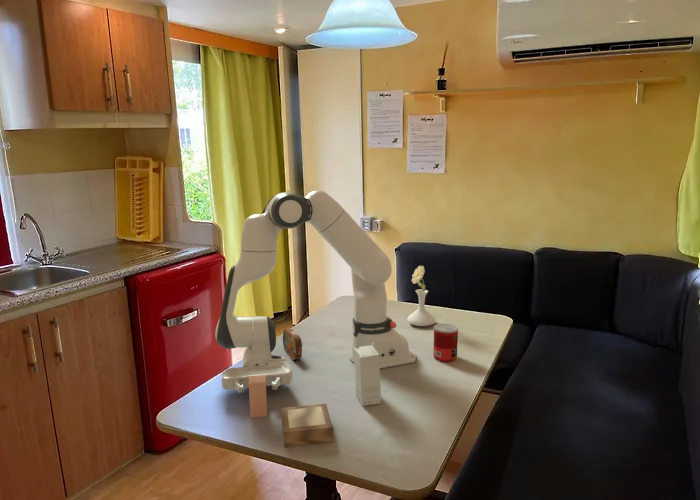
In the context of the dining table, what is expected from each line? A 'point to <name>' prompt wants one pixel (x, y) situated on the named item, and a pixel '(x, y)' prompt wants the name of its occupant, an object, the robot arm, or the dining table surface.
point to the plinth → (306, 425)
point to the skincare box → (367, 375)
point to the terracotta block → (257, 396)
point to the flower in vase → (420, 302)
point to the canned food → (445, 342)
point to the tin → (292, 344)
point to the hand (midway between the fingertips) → (257, 389)
